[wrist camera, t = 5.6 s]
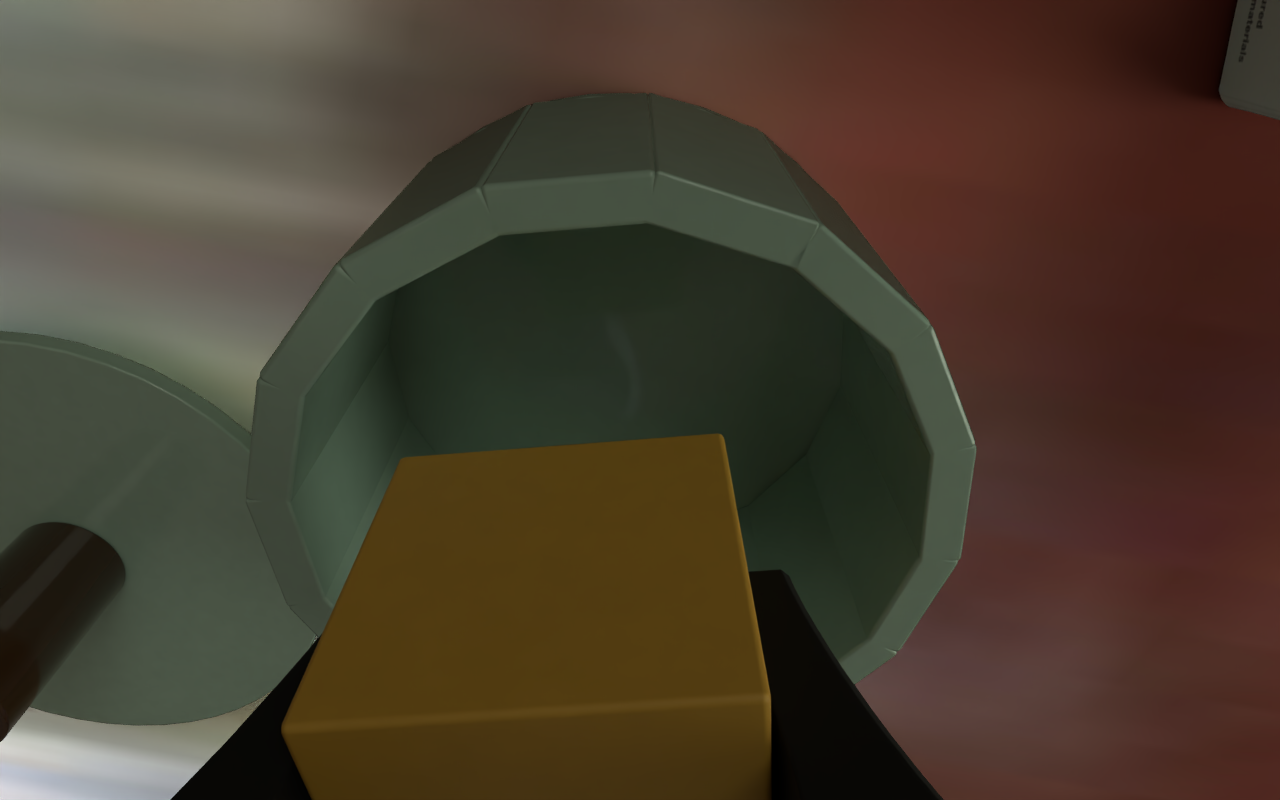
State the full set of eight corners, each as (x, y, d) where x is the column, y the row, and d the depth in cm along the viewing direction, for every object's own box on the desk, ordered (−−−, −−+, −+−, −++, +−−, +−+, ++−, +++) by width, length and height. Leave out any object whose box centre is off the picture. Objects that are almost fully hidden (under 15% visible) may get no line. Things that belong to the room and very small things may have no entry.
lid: (384, 681, 24) (321, 871, 19) (-17, 707, 24) (-178, 899, 19) (252, 297, 18) (110, 431, 13) (-277, 340, 18) (-607, 486, 13)
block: (733, 663, 13) (774, 964, 9) (462, 680, 13) (392, 983, 9) (723, 429, 11) (771, 697, 7) (399, 455, 11) (274, 729, 7)
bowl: (856, 532, 21) (935, 742, 16) (426, 561, 22) (355, 777, 16) (884, 67, 16) (1023, 138, 10) (303, 119, 16) (128, 216, 10)
